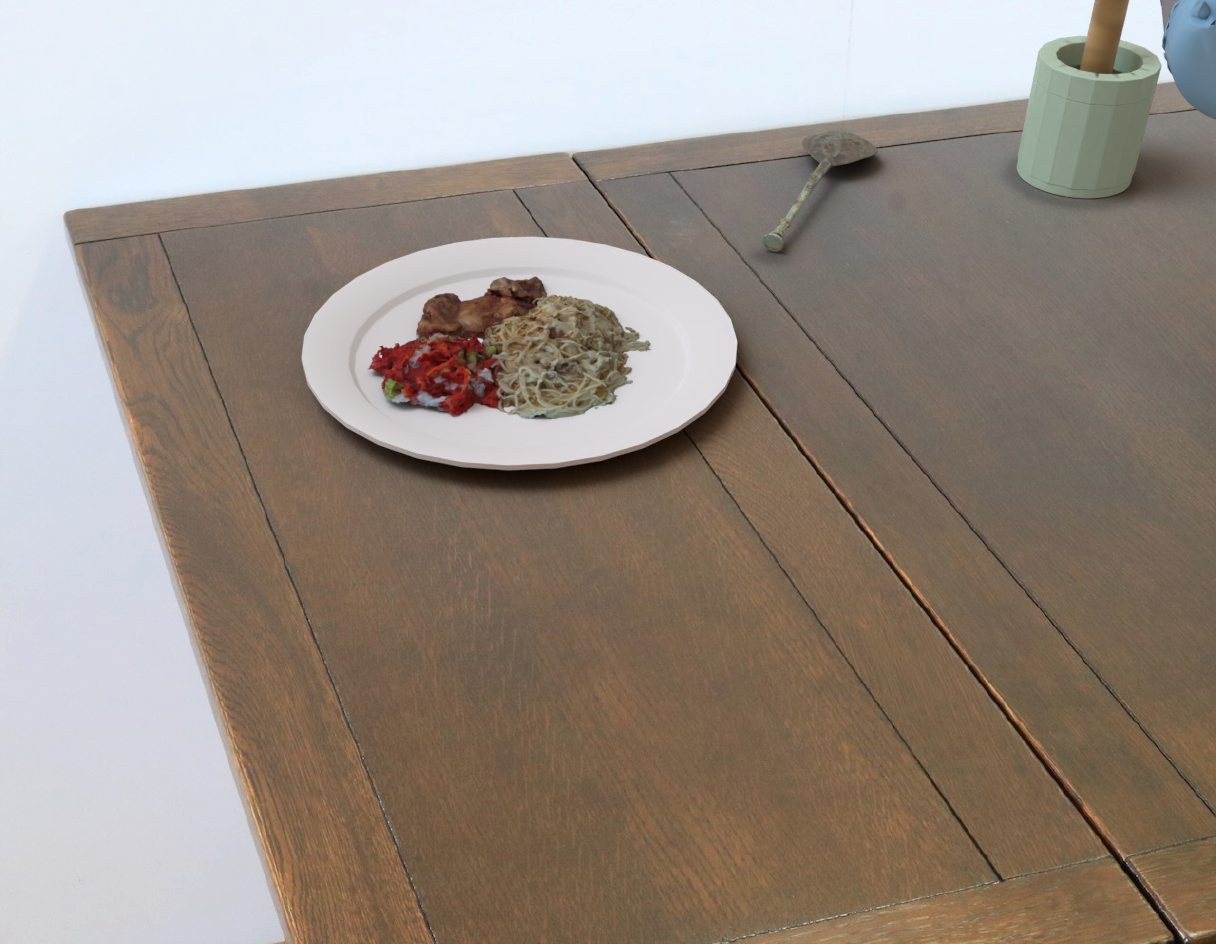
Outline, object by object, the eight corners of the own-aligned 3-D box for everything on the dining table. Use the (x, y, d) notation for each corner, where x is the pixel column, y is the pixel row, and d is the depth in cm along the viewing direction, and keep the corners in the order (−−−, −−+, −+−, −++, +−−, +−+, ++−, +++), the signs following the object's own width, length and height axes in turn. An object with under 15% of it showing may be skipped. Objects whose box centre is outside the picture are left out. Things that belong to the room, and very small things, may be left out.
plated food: (812, 335, 108) (817, 293, 105) (572, 549, 89) (572, 503, 87) (483, 223, 120) (481, 184, 118) (212, 390, 101) (204, 347, 99)
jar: (1142, 164, 130) (1172, 49, 123) (1115, 208, 123) (1145, 89, 117) (1034, 141, 133) (1057, 28, 126) (1002, 183, 127) (1025, 66, 120)
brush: (1106, 160, 128) (1166, -86, 115) (1093, 180, 125) (1153, -71, 112) (1056, 149, 130) (1109, -95, 117) (1042, 168, 127) (1094, -80, 114)
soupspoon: (885, 159, 131) (814, 149, 134) (889, 121, 129) (816, 112, 132) (810, 260, 116) (730, 247, 118) (813, 218, 114) (731, 206, 116)
